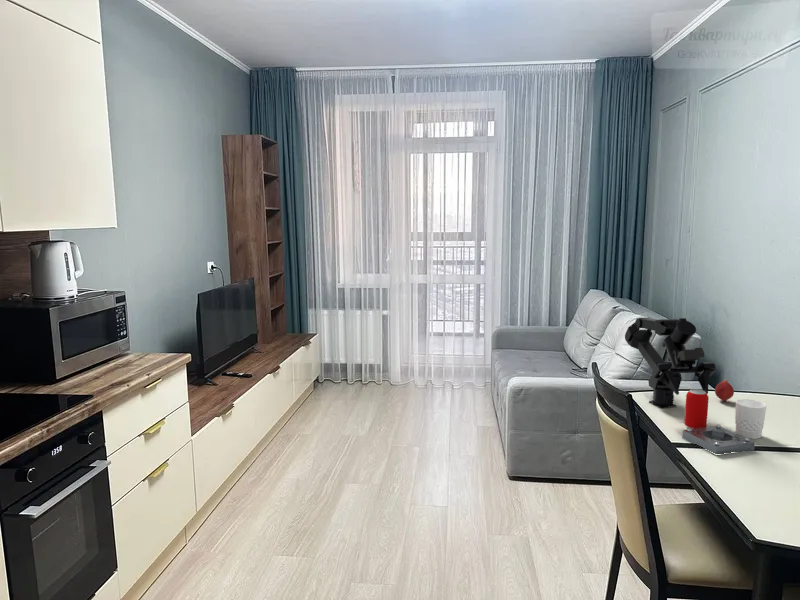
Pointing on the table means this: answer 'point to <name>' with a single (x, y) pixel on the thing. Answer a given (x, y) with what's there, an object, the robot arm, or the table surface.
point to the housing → (730, 438)
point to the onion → (724, 390)
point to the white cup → (749, 418)
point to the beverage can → (696, 409)
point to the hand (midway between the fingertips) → (692, 393)
